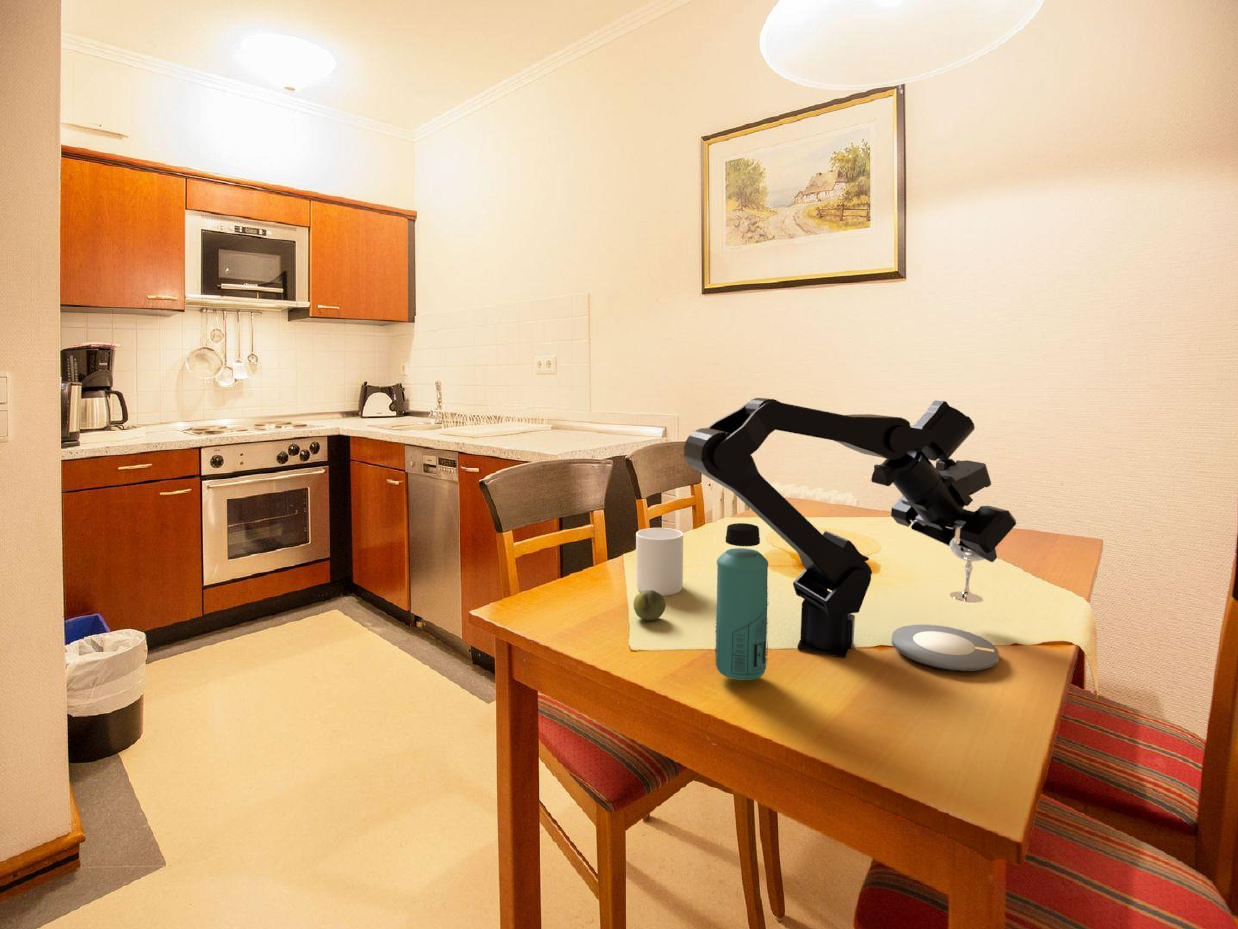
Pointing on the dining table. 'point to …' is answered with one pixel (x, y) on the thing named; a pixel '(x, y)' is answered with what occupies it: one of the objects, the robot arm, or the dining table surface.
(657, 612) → the lime
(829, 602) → the robot arm
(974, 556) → the wineglass
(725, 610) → the beverage bottle
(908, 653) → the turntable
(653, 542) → the cup
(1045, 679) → the dining table surface
